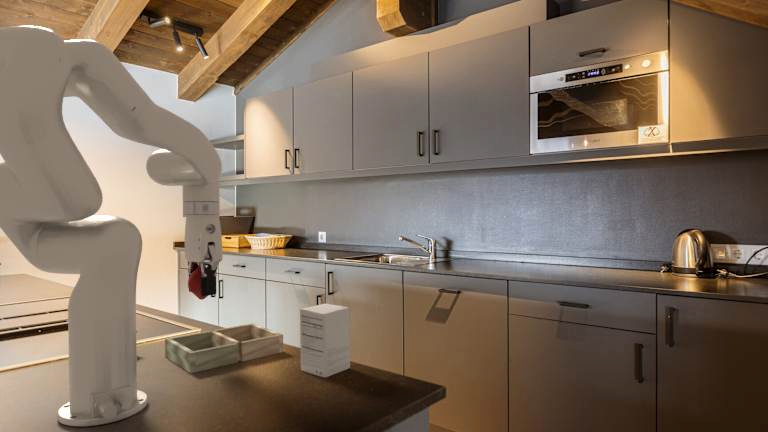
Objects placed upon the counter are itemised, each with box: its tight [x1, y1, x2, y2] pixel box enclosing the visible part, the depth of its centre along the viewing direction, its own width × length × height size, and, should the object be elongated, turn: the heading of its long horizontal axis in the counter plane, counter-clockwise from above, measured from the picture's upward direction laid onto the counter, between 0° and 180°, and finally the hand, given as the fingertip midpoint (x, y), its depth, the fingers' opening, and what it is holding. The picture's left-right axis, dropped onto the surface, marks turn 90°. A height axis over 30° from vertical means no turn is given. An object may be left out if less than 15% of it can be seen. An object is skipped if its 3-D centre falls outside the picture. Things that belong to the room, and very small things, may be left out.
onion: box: [187, 263, 210, 301], centre depth 105 cm, size 6×6×8 cm
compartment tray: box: [164, 322, 284, 374], centre depth 109 cm, size 15×21×4 cm
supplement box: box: [299, 303, 351, 379], centre depth 98 cm, size 7×7×13 cm
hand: (202, 292), depth 105 cm, fingers closed on onion, 5 cm apart
